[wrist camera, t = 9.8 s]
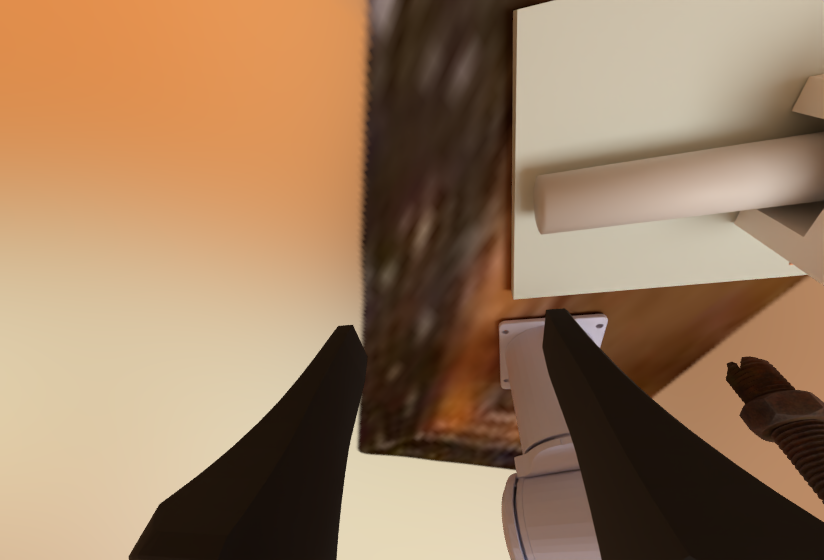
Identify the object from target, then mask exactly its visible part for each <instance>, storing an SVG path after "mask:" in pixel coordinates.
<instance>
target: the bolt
mask: <svg viewBox="0 0 824 560" xmlns="http://www.w3.org/2000/svg"><path fill="white" fill-rule="evenodd" d="M740 363H741V366H740V368H739V367H738V365H737V364H736V363H733V362H730V363H727V367H728V371H727V377H726V381H727V382H728V383H729V384H730V386H732V388H733V390H735V392H736V393H737V394H738V396H739V397H740V398H741V399H742V401H743V402H744V403H745V405H744V407H743V408H742V411H741V413H740V417H741V418H742V419H743V421H744V422H745V423H746V425H747V426H748V427H749V429H750V430H751V431H753V432H754V433H755V434H756V435H758V436H759V437H760V438H761V439H763V440H765V441H769V442H775V443H776V444H777V445H779V448H780V449H781V450H783V453H784V454H785V455H787V458H788V459H789V460H791V462H792V464H793V465H795V468H796V469H797V470H798V471H799V473H800V474H801V475H802V476H803V477H804V480H805V481H807V482H808V485H809V486H810V487H812V489H813V491H814V492H815V493H817V495H818V497H819V499H822V500H823V501H822V502H823V504H824V403H823V402H822V401H821V400H820V399H819V398H818V397H816V396H815V395H814V394H812V393H810V392H807V391H800V390H795V388H794V387H793V386H791V384H790V383H789V382H787V380H786V379H785V378H784V377H783V376H782V375H781V374H780V373H779V372H778V371H777V370H776V368H775V367H773V365H771V364H769V362H768V361H765V360H762V359H758V358H755V357H742V359H741V362H740Z"/></svg>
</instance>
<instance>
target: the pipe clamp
mask: <svg viewBox="0 0 824 560" xmlns="http://www.w3.org/2000/svg"><path fill="white" fill-rule="evenodd" d="M821 74H824V0H553V1H549V2H545V3H541V4H537V5H533V6H529V7H525V8H521V9H517V10H513V96H512V247H511V291H512V295H513V299H525V298H537V297H549V296H561V295H573V294H584V293H596V292H608V291H620V290H632V289H644V288H655V287H667V286H679V285H691V284H703V283H715V282H726V281H738V280H750V279H762V278H774V277H786V276H798V275H808V274H806V273H805V272H803V271H802V270H800V269H799V268H797V267H796V266H795V265H793V264H792V263H790V262H789V261H787V260H786V259H784V258H783V257H781V256H780V255H779V254H777V253H776V252H774V251H773V250H771V249H770V248H768V247H767V246H765V245H764V244H763V243H761V242H760V241H758V240H757V239H755V238H754V237H752V236H751V235H750V234H748V233H747V232H745V231H744V230H742V229H741V228H739V227H738V226H736V225H735V224H734V222H735V220H736V218H737V216H738V215H739V213H740V211H743V210H751V209H760V208H768V207H776V206H785V205H793V204H801V203H810V202H818V201H824V119H822V118H818V117H814V116H810V115H806V114H802V113H798V112H794V111H792V109H793V107H794V105H795V103H796V102H797V100H798V98H799V96H800V94H801V92H802V90H803V88H804V86H805V84H806V82H807V80H808V78H809V77H810V76H816V75H821Z"/></svg>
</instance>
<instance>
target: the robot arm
mask: <svg viewBox="0 0 824 560" xmlns="http://www.w3.org/2000/svg"><path fill="white" fill-rule="evenodd" d="M607 322H608V319H607V317H606V315H604V314H590V315H577V316H571V314H570V313H569V312H568V311H567V310H566V309H552V310H546V316H545V318H535V319H522V320H508V321H502V322H500V323H499V349H500V383H501V387H502V388H503V389H511V392H512V397H513V403H514V408H515V414H516V419H517V425H518V430H519V435H520V441H521V446H522V452H523V455H521V456H517V457H515V458H514V459H515V465H516V472H517V473H515V474H512V475H511V476H510V477H509V478H508V480H507V482H506V486H505V490H504V493H503V497H502V522H503V530H504V535H505V540H506V544H507V548H508V552H509V555H510V558H511V560H824V522H822V521H821V520H819V519H818V518H816V517H814V516H813V515H812V514H810V513H808V512H807V511H805V510H804V509H802V508H801V507H799V506H797V505H796V504H794V503H793V502H791V501H789V500H788V499H786V498H785V497H783V496H782V495H780V494H779V493H777V492H776V491H774V490H773V489H771V488H770V487H768V486H767V485H765V484H764V483H762V482H761V481H759V480H758V479H757V478H755V477H754V476H752V475H751V474H749V473H748V472H746V471H745V470H743V469H742V468H741V467H739V466H738V465H736V464H735V463H733V462H732V461H731V460H729V459H728V458H727V457H725V456H724V455H723V454H721V453H720V452H718V451H717V450H716V449H715V448H713V447H712V446H711V445H709V444H708V443H706V442H705V441H704V440H703V439H701V438H700V437H698V436H697V435H696V434H694V433H693V432H692V431H690V430H689V429H688V428H687V427H685V426H684V425H683V424H682V423H680V422H679V421H678V420H677V419H675V418H674V417H673V416H672V415H671V414H669V413H668V412H667V411H666V410H664V409H663V408H662V407H661V406H660V405H659V404H658V403H656V402H655V401H654V400H653V399H652V398H651V397H649V396H648V395H647V394H646V393H645V392H644V391H643V390H642V389H641V388H639V387H638V386H637V385H636V384H635V383H634V382H633V381H632V380H631V379H630V378H629V377H628V376H627V375H626V374H625V373H624V372H623V371H622V370H621V369H620V368H618V367H617V366H616V365H615V364H614V362H613V361H612V360H611V359H610V358H609V357H608V356H607V355H606V354H605V353H604V352H603V351H602V350H601V349H600V346H601V342H602V339H603V336H604V332H605V329H606V325H607ZM504 330H506V331H504ZM366 366H367V355H366V352H365V350H364V348H363V346H362V344H361V342H360V339H359V337H358V335H357V333H356V331H355V329H354V327H353V325H345V326H338V327H337V329H336V330H335V331H334V332H333V334H332V335H331V336H330V338H329V339H328V340H327V342H326V343H325V345H324V346H323V347H322V349H321V350H320V351H319V353H318V354H317V355H316V357H315V358H314V359H313V361H312V362H311V363H310V365H309V366H308V367H307V368H306V370H305V371H304V372H303V373H302V375H301V376H300V377H299V378H298V380H297V381H296V382H295V383H294V385H293V386H292V387H291V388H290V389H289V390H288V391H287V393H286V394H285V395H284V396H283V398H281V400H280V401H279V402H278V403H277V404H276V405H275V406H274V407H273V408H272V409H271V410H270V411H269V412H268V413H267V414H266V416H265V417H264V418H263V419H262V420H261V421H260V422H259V423H258V424H257V425H255V426H254V427H253V428H252V429H251V430H250V431H249V432H248V433H247V434H246V435H245V436H244V437H243V438H242V439H240V440H239V442H237V443H236V444H235V445H234V446H233V447H232V448H231V449H229V450H228V451H227V452H226V453H225V454H224V455H222V456H221V457H220V458H219V459H218V460H216V461H215V462H214V463H213V464H212V465H210V466H209V467H208V468H207V469H206V470H204V471H203V472H202V473H200V474H199V475H198V476H197V477H196V478H194V479H193V480H191V481H190V482H189V483H188V484H186V485H185V486H184V487H182V488H181V489H179V490H178V491H177V492H176V493H174V494H173V495H171V496H170V497H169V498H167V499H166V500H165V501H163V502H162V503H161V504H160V505H159V506H158V508H157V510H156V511H155V513H154V514H153V516H152V518H151V520H150V521H149V523H148V525H147V526H146V528H145V530H144V531H143V533H142V535H141V536H140V538H139V540H138V542H137V543H136V545H135V547H134V548H133V550H132V552H131V554H130V555H129V560H336V558H337V544H338V532H339V521H340V512H341V502H342V494H343V486H344V478H345V471H346V464H347V457H348V451H349V445H350V440H351V435H352V432H353V428H354V424H355V420H356V415H357V411H358V407H359V403H360V399H361V395H362V391H363V387H364V382H365V375H366Z"/></svg>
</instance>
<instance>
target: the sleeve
mask: <svg viewBox="0 0 824 560" xmlns="http://www.w3.org/2000/svg"><path fill="white" fill-rule="evenodd" d="M792 111H794V112H798V113H802V114H806V115H810V116H814V117H818V118H822V119H824V74H821V75H816V76H810V77H809V78H808V80H807V82H806V84H805V86H804V88H803V90H802V92H801V94H800V96H799V98H798V100H797V102H796V103H795V105H794V107H793V109H792ZM734 224H735V225H736V226H738V227H739V228H741V229H742V230H744V231H745V232H747V233H748V234H750V235H751V236H752V237H754V238H755V239H757V240H758V241H760V242H761V243H763V244H764V245H765V246H767V247H768V248H770V249H771V250H773V251H774V252H776V253H777V254H779V255H780V256H781V257H783V258H784V259H786V260H787V261H789V262H790V263H792V264H793V265H795V266H796V267H797V268H799V269H800V270H802V271H803V272H805V273H806V274H808V275H809V276H810V277H812V278H813V279H815V280H816V281H818V282H819V283H821V284H822V285H824V201H818V202H810V203H801V204H793V205H785V206H776V207H768V208H760V209H751V210H743V211H740V213H739V215H738V216H737V218H736V220H735V222H734Z"/></svg>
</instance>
